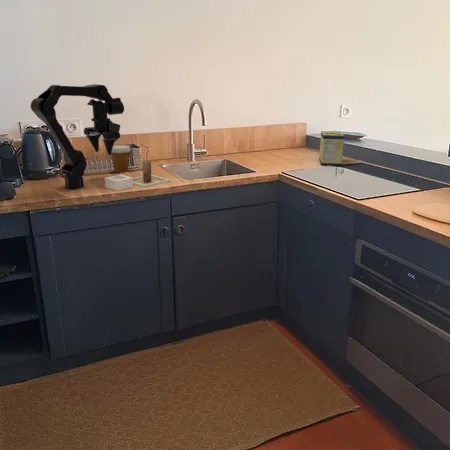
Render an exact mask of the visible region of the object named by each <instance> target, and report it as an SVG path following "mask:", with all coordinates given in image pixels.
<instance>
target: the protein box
mask: <svg viewBox="0 0 450 450" xmlns="http://www.w3.org/2000/svg"><path fill="white" fill-rule="evenodd" d="M344 145H345V135H344V134H343V133H342V132H341V131H331V130H330V131H329V130H328V131H327V130H326V131H325V130H324V131H323V130H321V132H320V143H319V154H318V155H319V157H318V161H319V163H320V165H321V166H323V167H328V166H327V165H334V166H333V167H342V163H343V153H344Z"/></svg>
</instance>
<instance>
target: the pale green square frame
mask: <svg viewBox="0 0 450 450" xmlns="http://www.w3.org/2000/svg"><path fill="white" fill-rule="evenodd" d="M152 178H153V179H157V180H161V181H156V182H150V183H146V184H144V183H139V182H136V181H138V180H141V179H143V175H140V176H136V177H132V181H133V185H134V186H137V187H141V188H145V189H146V188H149V187H150V188H151V187H154V186H158V185H163V184H166V183H171V179H169V178H164V177H161V176H158V175H154V174H151V179H152Z"/></svg>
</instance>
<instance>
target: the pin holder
mask: <svg viewBox="0 0 450 450" xmlns="http://www.w3.org/2000/svg"><path fill="white" fill-rule="evenodd" d="M132 178H133V177H131V176H129V175H128V176H127V175H124V174H122V173H119V174H116V175H111V176H107V177H104V186H105V188H107V189H109V190H112V191H116V192H118V191H122V190H123V191H124V190H127V189H131V188H133V185H134V184H133V181H134V180H133V181H132Z"/></svg>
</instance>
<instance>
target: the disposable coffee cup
mask: <svg viewBox="0 0 450 450" xmlns="http://www.w3.org/2000/svg"><path fill="white" fill-rule="evenodd" d="M130 153H131V148H130V145H124V144H116V145H113V148H112V152H111V155H110V156H111V161H112V164H113V170H114V173H116V174H123V173H128V172H129V163H130Z"/></svg>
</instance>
